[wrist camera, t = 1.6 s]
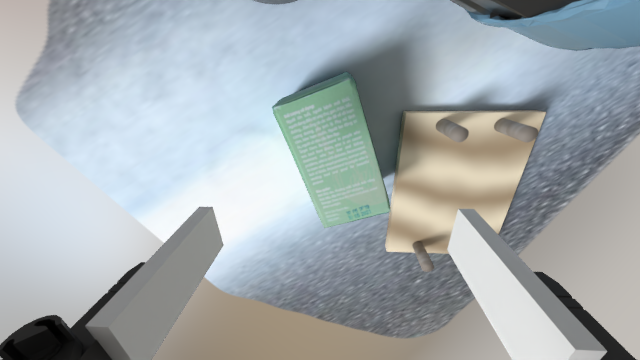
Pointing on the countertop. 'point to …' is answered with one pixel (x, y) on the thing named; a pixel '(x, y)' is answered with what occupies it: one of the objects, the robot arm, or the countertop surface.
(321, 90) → the box
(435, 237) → the tray
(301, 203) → the countertop surface
